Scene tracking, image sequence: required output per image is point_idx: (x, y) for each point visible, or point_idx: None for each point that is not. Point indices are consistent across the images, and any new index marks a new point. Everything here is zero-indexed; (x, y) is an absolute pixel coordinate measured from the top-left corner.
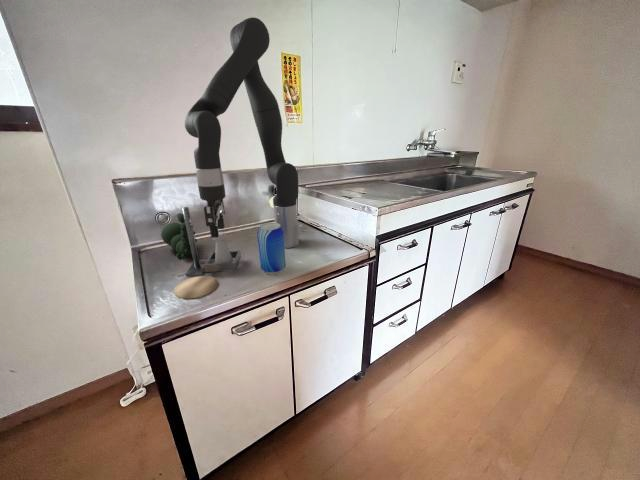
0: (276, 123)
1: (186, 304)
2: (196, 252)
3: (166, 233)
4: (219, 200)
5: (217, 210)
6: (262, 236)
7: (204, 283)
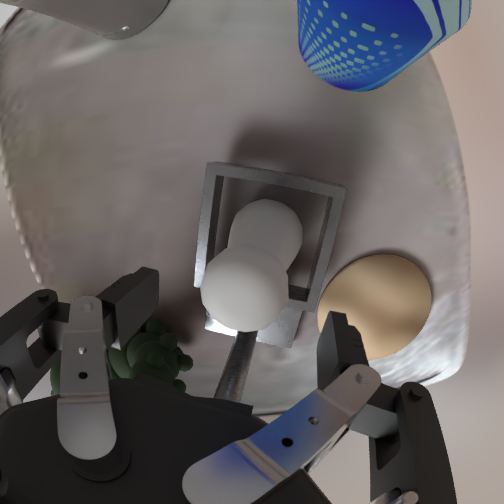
0: None
1: (439, 323)
2: (247, 350)
3: None
4: (22, 453)
5: (290, 475)
6: (462, 25)
7: (375, 293)
